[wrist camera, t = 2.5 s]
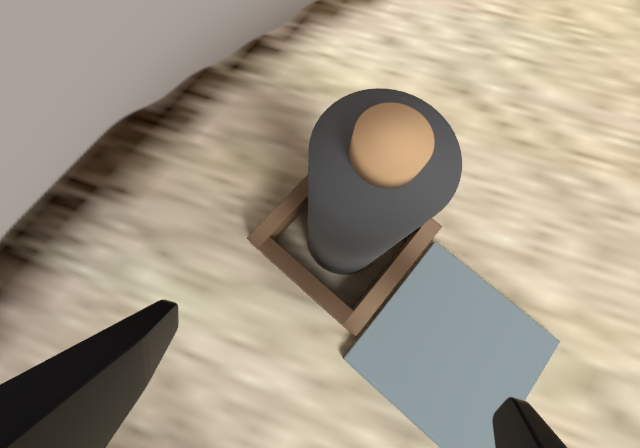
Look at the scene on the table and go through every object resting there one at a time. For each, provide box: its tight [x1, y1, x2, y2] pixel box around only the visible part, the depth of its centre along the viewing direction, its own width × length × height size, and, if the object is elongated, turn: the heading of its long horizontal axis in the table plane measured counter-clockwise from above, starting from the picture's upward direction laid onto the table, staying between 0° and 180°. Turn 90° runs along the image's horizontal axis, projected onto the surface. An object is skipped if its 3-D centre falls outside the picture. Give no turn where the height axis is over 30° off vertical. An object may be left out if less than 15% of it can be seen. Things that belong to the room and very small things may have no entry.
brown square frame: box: [247, 175, 442, 336], centre depth 21 cm, size 9×9×2 cm
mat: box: [343, 241, 560, 448], centre depth 20 cm, size 10×10×1 cm
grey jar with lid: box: [308, 89, 462, 274], centre depth 16 cm, size 5×5×14 cm
